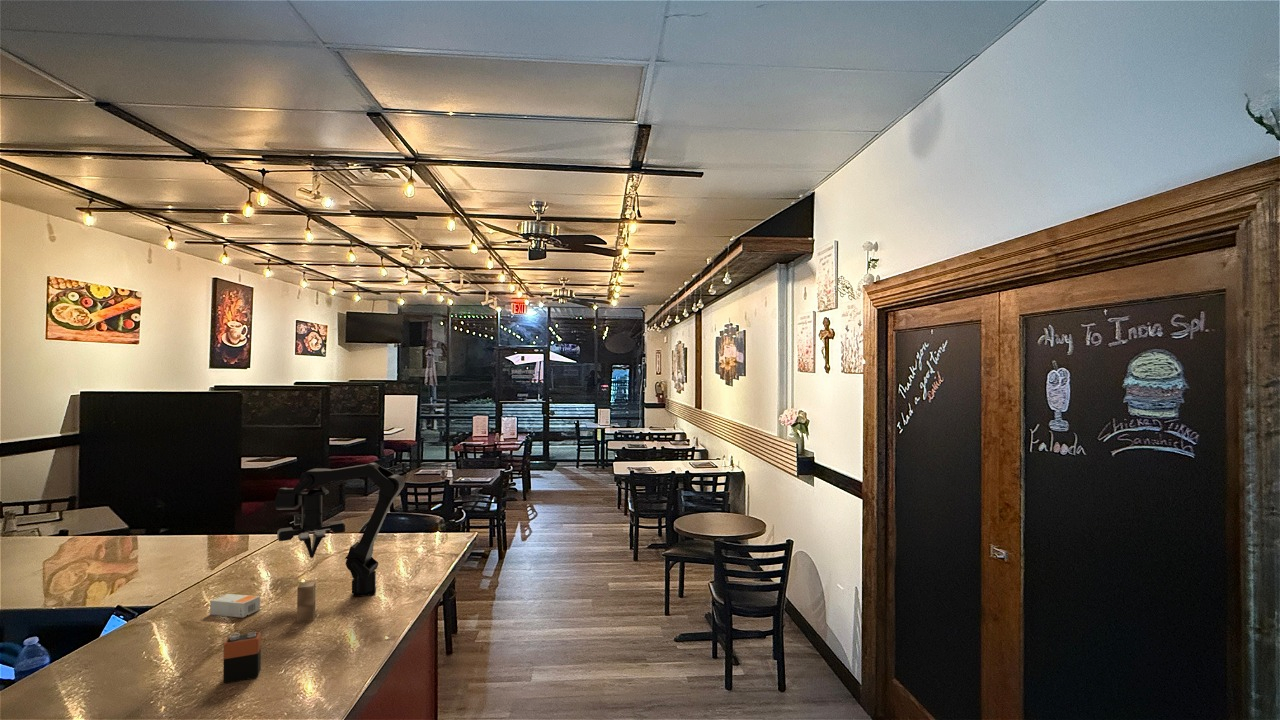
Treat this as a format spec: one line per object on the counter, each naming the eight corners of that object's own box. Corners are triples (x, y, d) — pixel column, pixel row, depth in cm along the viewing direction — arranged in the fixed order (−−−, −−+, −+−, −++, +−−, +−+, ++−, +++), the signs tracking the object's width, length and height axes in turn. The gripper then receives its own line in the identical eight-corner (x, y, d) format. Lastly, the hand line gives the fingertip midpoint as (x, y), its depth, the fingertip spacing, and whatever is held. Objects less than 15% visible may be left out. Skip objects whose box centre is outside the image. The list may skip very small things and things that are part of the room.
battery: (227, 675, 140) (227, 632, 140) (261, 669, 143) (261, 627, 143) (222, 684, 136) (223, 640, 136) (257, 678, 139) (258, 635, 139)
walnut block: (315, 615, 175) (315, 581, 175) (312, 621, 171) (313, 586, 171) (299, 617, 174) (300, 583, 174) (297, 623, 170) (297, 587, 170)
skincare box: (243, 603, 174) (209, 600, 176) (243, 617, 174) (209, 615, 176) (260, 595, 180) (227, 593, 182) (260, 609, 179) (227, 607, 182)
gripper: (339, 500, 204) (339, 546, 204) (275, 508, 193) (275, 556, 193) (345, 506, 195) (345, 554, 195) (279, 514, 184) (278, 565, 184)
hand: (311, 557), depth 192 cm, fingers closed
